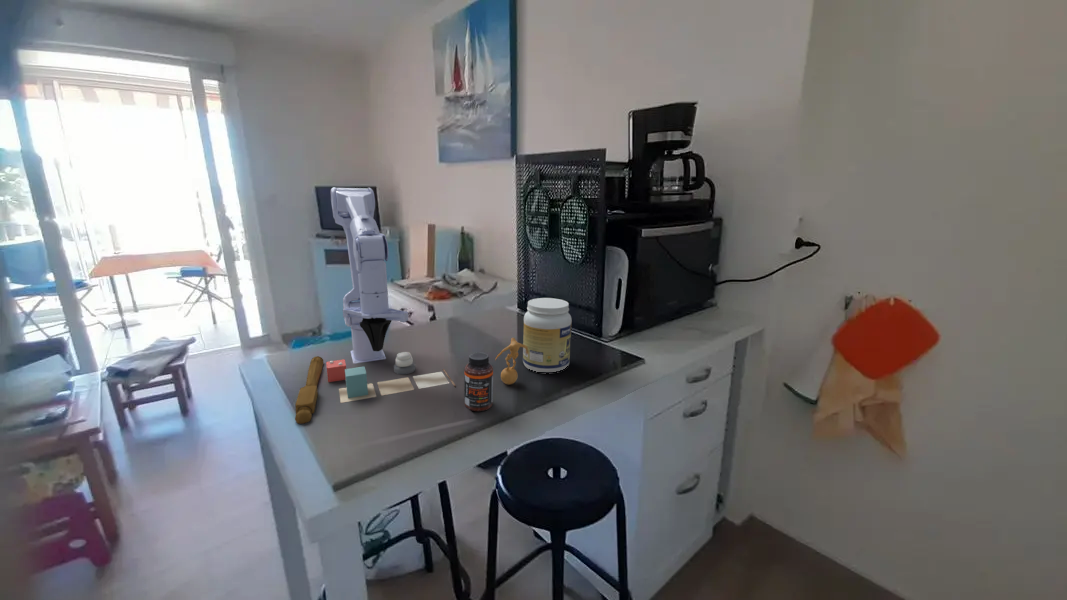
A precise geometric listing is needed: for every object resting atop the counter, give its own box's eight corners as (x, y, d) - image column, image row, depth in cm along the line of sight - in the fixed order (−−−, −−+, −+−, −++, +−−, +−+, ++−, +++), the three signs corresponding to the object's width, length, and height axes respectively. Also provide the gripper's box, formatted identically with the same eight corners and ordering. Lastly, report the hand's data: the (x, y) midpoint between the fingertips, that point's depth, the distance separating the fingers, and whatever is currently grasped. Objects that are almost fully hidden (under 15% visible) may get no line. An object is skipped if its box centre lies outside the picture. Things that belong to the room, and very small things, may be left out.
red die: (327, 377, 101) (326, 360, 100) (346, 374, 103) (344, 357, 102) (328, 384, 98) (326, 366, 97) (347, 381, 99) (345, 363, 98)
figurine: (520, 377, 104) (521, 330, 101) (532, 387, 99) (534, 338, 96) (489, 383, 100) (489, 335, 97) (500, 394, 95) (500, 343, 92)
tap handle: (323, 354, 108) (310, 411, 81) (324, 366, 108) (312, 426, 81) (309, 356, 107) (292, 414, 80) (311, 367, 107) (294, 429, 80)
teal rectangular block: (346, 390, 94) (344, 369, 93) (366, 387, 96) (364, 366, 94) (348, 398, 90) (345, 376, 89) (368, 394, 92) (366, 373, 91)
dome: (394, 361, 105) (393, 352, 105) (411, 359, 107) (410, 350, 107) (397, 367, 102) (396, 358, 101) (414, 365, 104) (413, 356, 103)
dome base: (392, 369, 106) (392, 363, 106) (413, 366, 108) (412, 360, 108) (396, 377, 102) (395, 370, 101) (417, 374, 104) (416, 367, 104)
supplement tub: (566, 377, 104) (569, 310, 100) (517, 372, 107) (518, 306, 102) (571, 358, 116) (575, 298, 112) (528, 354, 118) (529, 294, 114)
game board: (333, 389, 96) (333, 386, 95) (444, 370, 107) (444, 368, 106) (336, 409, 87) (335, 407, 87) (455, 387, 98) (455, 385, 98)
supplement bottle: (466, 414, 87) (465, 362, 84) (462, 400, 92) (461, 351, 89) (495, 410, 88) (495, 359, 85) (490, 397, 94) (490, 349, 91)
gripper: (331, 293, 90) (337, 353, 94) (396, 297, 88) (399, 359, 91) (351, 285, 97) (356, 342, 100) (411, 289, 95) (414, 347, 98)
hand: (378, 349), depth 96 cm, fingers closed
